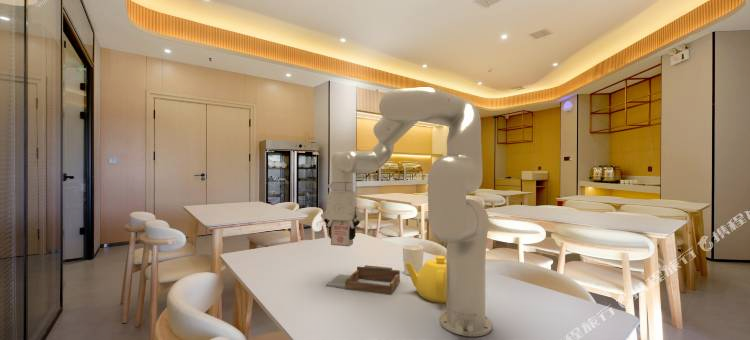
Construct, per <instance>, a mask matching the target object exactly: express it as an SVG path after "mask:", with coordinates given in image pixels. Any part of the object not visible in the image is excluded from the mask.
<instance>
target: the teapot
mask: <svg viewBox="0 0 750 340" xmlns="http://www.w3.org/2000/svg"><path fill="white" fill-rule="evenodd" d="M406 267H407V270H408V272H409V275H408V276H409V277H410V280H411V282H412V284H413V287H415V289H416V292H418V294H419V295H420V296H421V298H423V299H425V300H427V301H428V302H433V303H440V304H441V303H442V304H446V256H443V255H440V254H439V255H438V254H437V255H435V257H434V258H433V259H429V260H426V261H425V262H424V263H423V266H422V268H421V270H420V272H419V274H418V273H416V271H415V269H414V268H413V266H412V264H411V263H406Z"/></svg>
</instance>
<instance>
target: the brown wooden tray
mask: <svg viewBox="0 0 750 340" xmlns="http://www.w3.org/2000/svg"><path fill="white" fill-rule="evenodd" d="M350 275H351V276H349V277H348V278H347V279H346V281H345V288H344V289H345V290H350V291H357V292H365V293H373V294H382V295H383V294H384V295H389V296H391V295H393V293H394V291H395V289H396V288H397V287H398V286H399V284H400V282H401V278H400V277H401V270H398V269H393V267H390V266H389V267H385V266H377V265H367V264H366V265H364V266H357V267H356V270H355V271H354V272H353V273H351V274H350ZM359 279H361V280H367V281H368V280H370V281H378V282H388V283H389V284H378V283H370V282H364V281H363V282H362V281H358V280H359Z"/></svg>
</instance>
